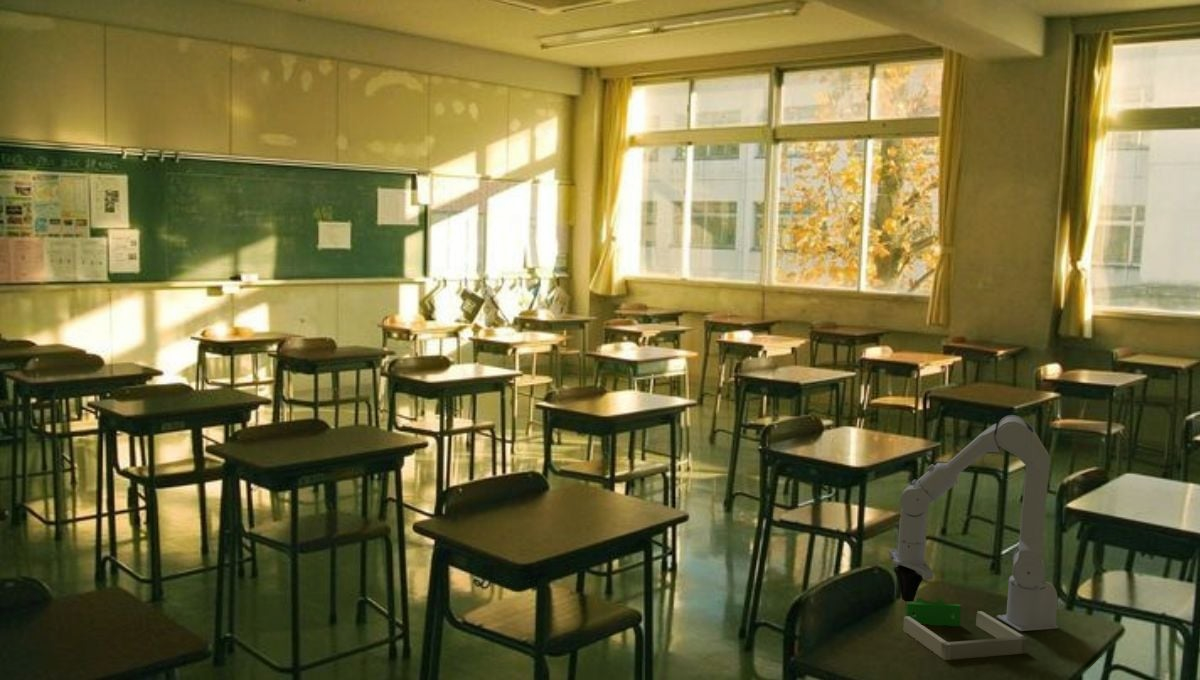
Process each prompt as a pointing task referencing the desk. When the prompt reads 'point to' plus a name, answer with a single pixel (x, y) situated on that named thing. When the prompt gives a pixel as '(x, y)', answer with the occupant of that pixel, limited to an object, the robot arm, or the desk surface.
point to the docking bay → (1000, 645)
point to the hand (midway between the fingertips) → (907, 600)
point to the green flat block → (934, 612)
